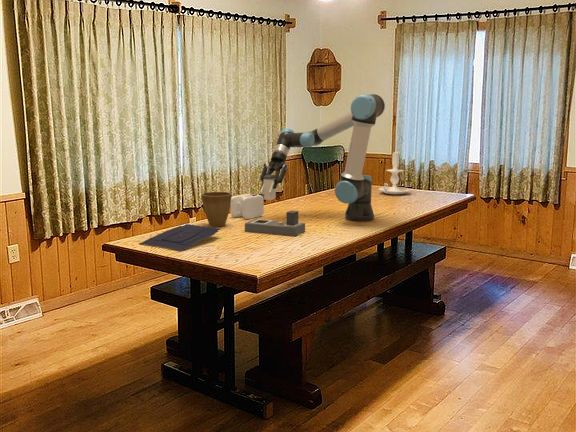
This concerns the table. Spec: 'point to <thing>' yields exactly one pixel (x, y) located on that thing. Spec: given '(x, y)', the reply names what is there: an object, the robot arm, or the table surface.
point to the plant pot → (216, 207)
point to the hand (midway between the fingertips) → (266, 193)
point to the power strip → (277, 225)
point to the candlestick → (394, 179)
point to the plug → (267, 185)
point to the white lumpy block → (247, 206)
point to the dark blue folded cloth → (181, 237)
